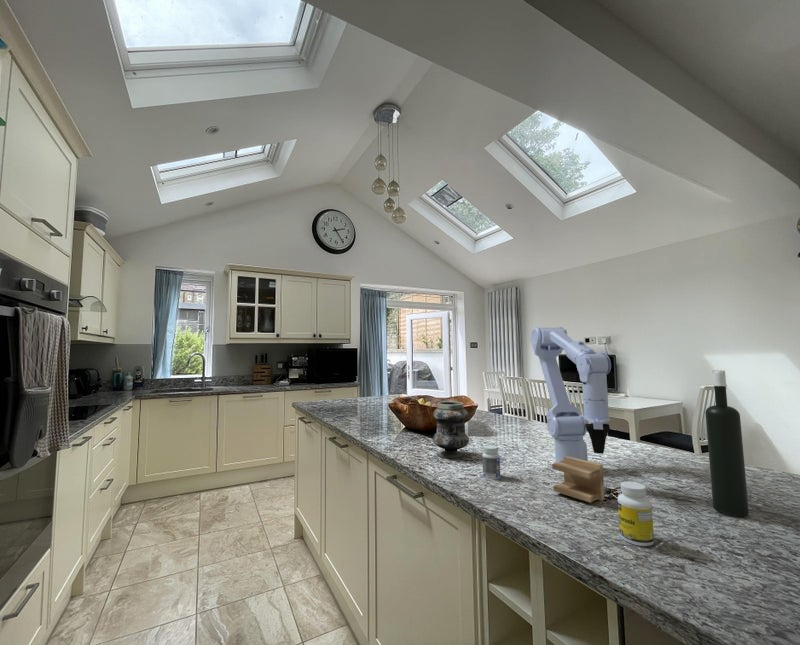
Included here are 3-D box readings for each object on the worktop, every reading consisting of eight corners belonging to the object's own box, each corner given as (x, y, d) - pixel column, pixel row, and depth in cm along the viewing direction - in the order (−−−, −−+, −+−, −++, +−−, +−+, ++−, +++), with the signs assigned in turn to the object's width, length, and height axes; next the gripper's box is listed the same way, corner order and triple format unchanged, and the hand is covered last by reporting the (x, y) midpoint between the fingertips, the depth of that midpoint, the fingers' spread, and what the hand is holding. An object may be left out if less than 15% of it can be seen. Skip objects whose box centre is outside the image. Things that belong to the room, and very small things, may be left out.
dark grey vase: (472, 461, 118) (470, 404, 120) (434, 462, 118) (433, 405, 120) (466, 451, 130) (464, 399, 132) (432, 452, 131) (431, 400, 132)
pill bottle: (501, 480, 100) (499, 449, 101) (483, 480, 101) (482, 448, 102) (499, 475, 105) (498, 444, 106) (482, 474, 106) (481, 444, 107)
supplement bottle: (613, 533, 71) (609, 480, 72) (639, 531, 71) (636, 479, 72) (633, 548, 65) (629, 490, 66) (662, 546, 66) (658, 489, 67)
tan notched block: (553, 494, 90) (568, 488, 94) (590, 506, 83) (604, 499, 87) (552, 460, 91) (566, 456, 95) (588, 469, 84) (602, 464, 88)
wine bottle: (752, 518, 76) (738, 371, 78) (715, 512, 79) (704, 370, 81) (745, 508, 81) (732, 369, 83) (711, 503, 84) (699, 369, 86)
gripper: (578, 395, 105) (581, 445, 104) (578, 402, 92) (581, 458, 91) (606, 396, 102) (610, 447, 101) (611, 403, 89) (614, 461, 88)
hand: (598, 452), depth 96 cm, fingers closed
